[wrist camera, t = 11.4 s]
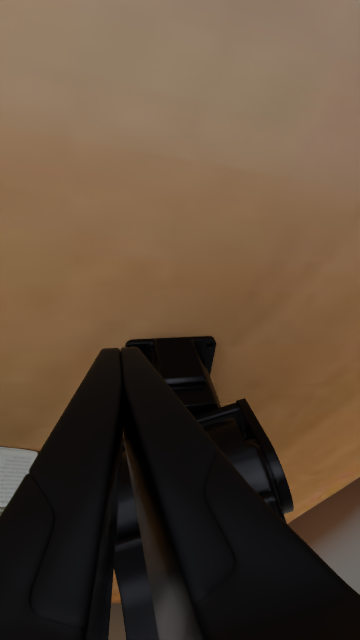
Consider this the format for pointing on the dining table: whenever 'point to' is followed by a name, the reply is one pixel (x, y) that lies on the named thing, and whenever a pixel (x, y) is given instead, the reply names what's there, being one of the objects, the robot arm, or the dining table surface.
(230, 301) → the dining table surface
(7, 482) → the syrup box
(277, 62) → the dining table surface
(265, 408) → the dining table surface
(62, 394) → the dining table surface
